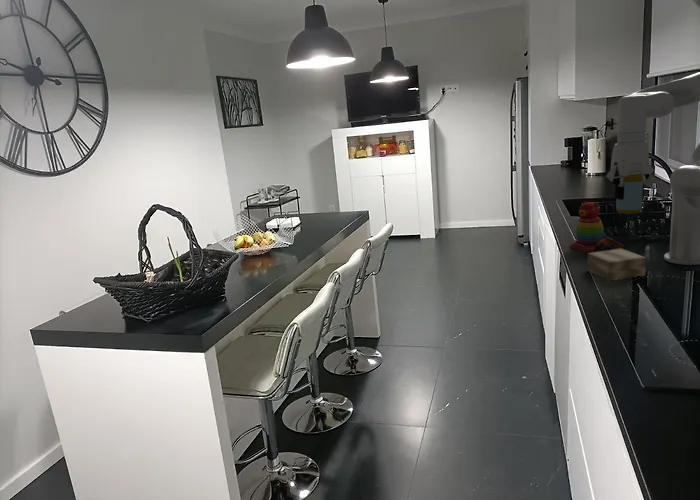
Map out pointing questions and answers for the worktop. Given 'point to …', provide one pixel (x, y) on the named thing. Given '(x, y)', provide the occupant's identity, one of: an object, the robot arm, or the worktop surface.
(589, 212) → the stacking bear
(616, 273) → the chopping block
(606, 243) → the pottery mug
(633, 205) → the bottle
